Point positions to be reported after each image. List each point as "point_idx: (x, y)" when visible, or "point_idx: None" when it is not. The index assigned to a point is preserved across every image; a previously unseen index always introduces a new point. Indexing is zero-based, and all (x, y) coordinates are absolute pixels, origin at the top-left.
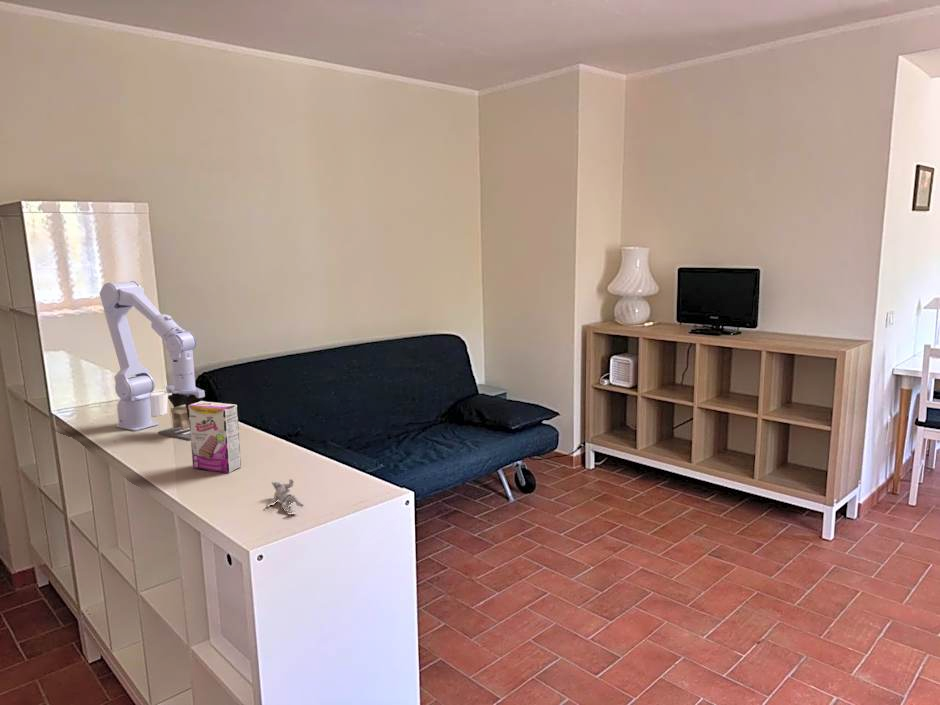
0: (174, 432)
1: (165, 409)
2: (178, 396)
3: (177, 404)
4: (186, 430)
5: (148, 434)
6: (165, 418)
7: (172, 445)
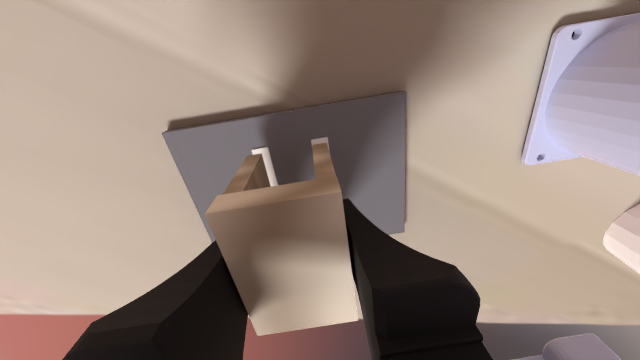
0: (321, 137)
1: (625, 256)
2: (376, 341)
3: (356, 261)
4: None
5: (435, 50)
6: (565, 219)
7: (127, 25)
